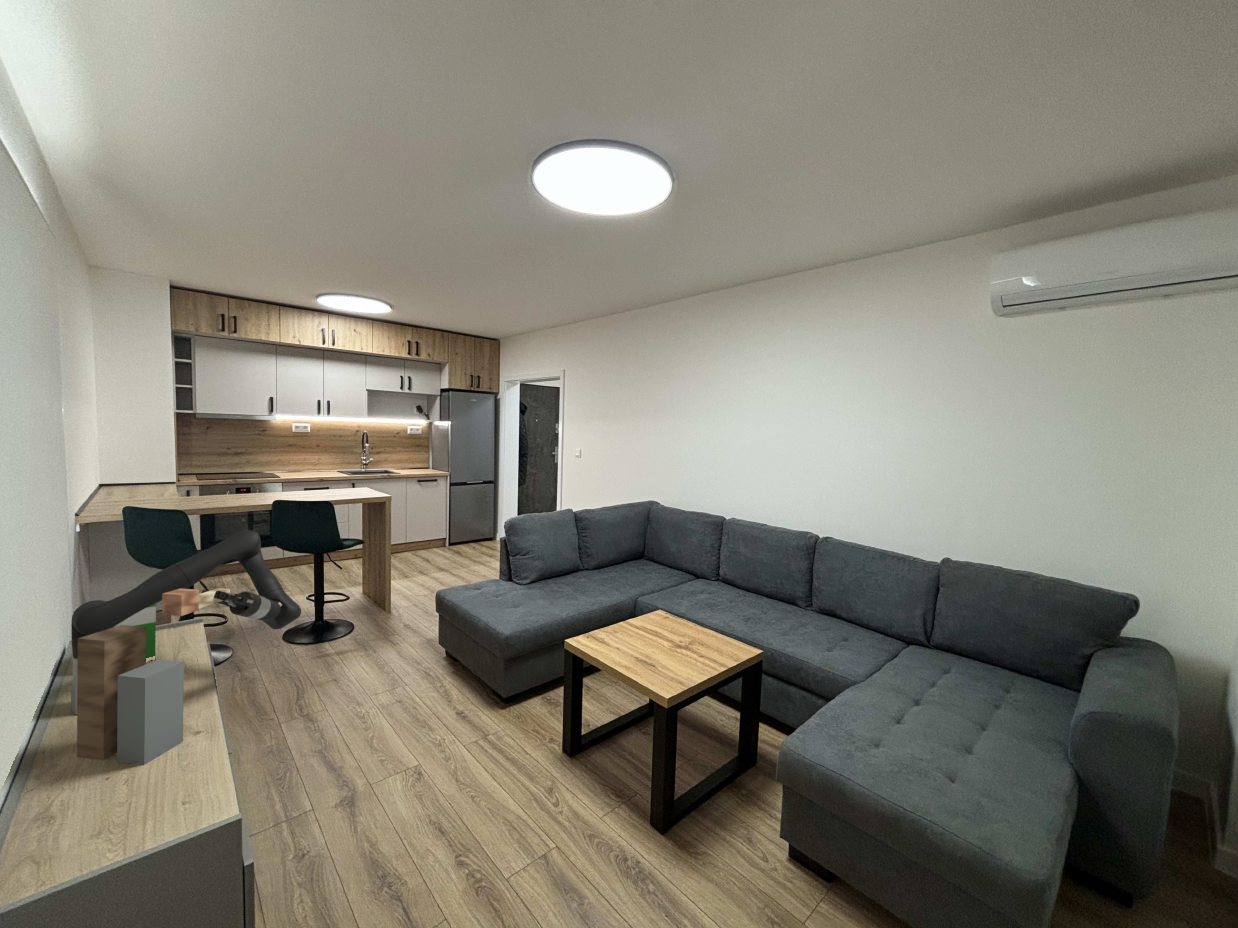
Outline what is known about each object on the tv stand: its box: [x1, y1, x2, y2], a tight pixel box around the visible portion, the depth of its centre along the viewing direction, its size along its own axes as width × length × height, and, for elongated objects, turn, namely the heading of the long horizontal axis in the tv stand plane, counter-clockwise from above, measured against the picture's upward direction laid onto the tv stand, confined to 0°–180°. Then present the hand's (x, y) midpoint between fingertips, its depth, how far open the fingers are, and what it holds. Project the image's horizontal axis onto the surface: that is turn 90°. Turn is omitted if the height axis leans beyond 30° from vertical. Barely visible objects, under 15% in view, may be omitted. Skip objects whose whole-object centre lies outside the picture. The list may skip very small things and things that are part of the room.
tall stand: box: [76, 625, 147, 761], centre depth 130 cm, size 10×8×32 cm
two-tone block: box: [161, 587, 231, 617], centre depth 142 cm, size 16×6×6 cm, turn 175°
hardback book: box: [105, 600, 157, 658], centre depth 178 cm, size 18×7×24 cm, turn 138°
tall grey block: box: [116, 658, 185, 765], centre depth 129 cm, size 10×8×23 cm
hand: (209, 593), depth 145 cm, fingers closed on two-tone block, 4 cm apart
